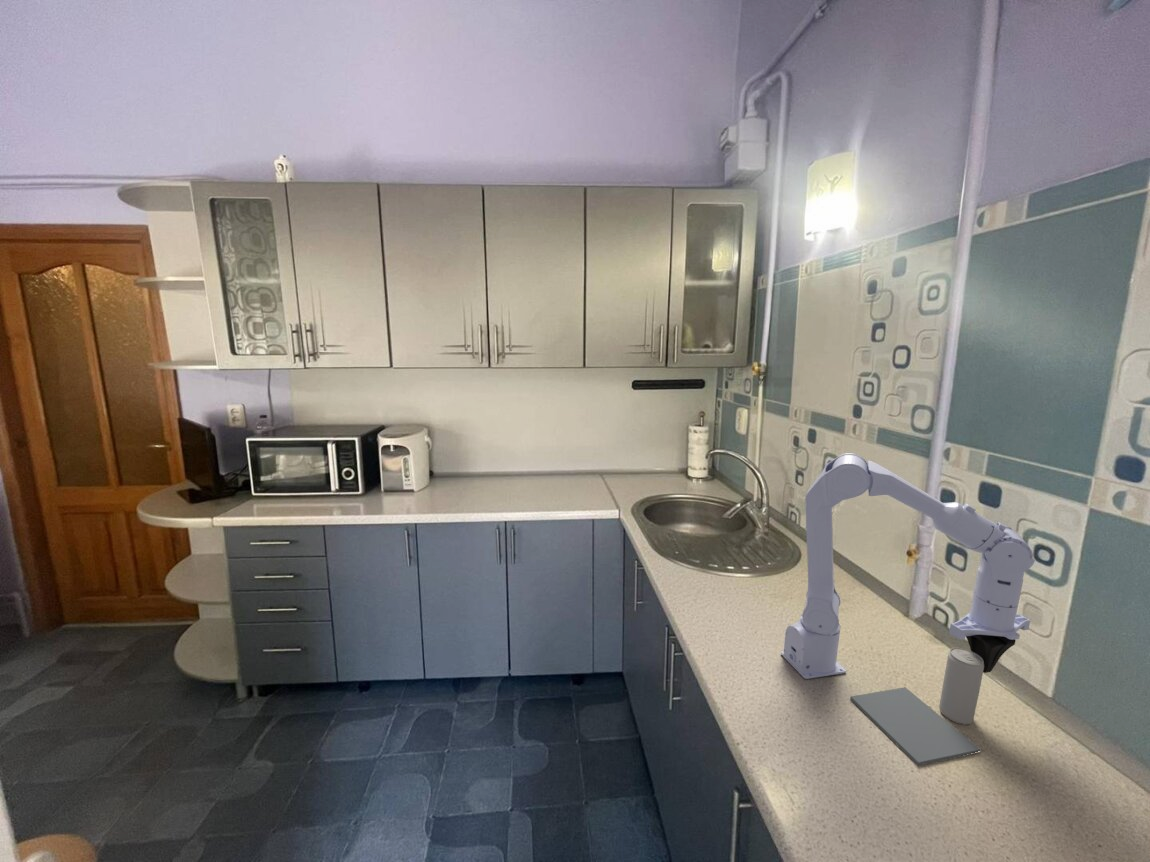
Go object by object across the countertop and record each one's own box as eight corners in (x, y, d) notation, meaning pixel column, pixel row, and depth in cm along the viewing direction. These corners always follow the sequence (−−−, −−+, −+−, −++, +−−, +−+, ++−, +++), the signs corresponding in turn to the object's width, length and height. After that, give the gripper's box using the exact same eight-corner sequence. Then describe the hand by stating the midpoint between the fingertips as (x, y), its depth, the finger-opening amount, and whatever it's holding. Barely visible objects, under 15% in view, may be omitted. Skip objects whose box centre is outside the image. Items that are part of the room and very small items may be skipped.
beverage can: (957, 704, 86) (968, 646, 83) (980, 726, 81) (992, 665, 78) (931, 705, 85) (941, 647, 83) (953, 727, 81) (964, 665, 78)
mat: (918, 765, 73) (918, 762, 73) (850, 699, 87) (850, 696, 87) (980, 752, 76) (980, 749, 76) (904, 689, 89) (905, 687, 89)
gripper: (985, 616, 74) (971, 691, 77) (1056, 606, 77) (1040, 678, 80) (942, 593, 81) (931, 662, 84) (1009, 584, 84) (996, 651, 87)
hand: (981, 668), depth 82 cm, fingers closed
